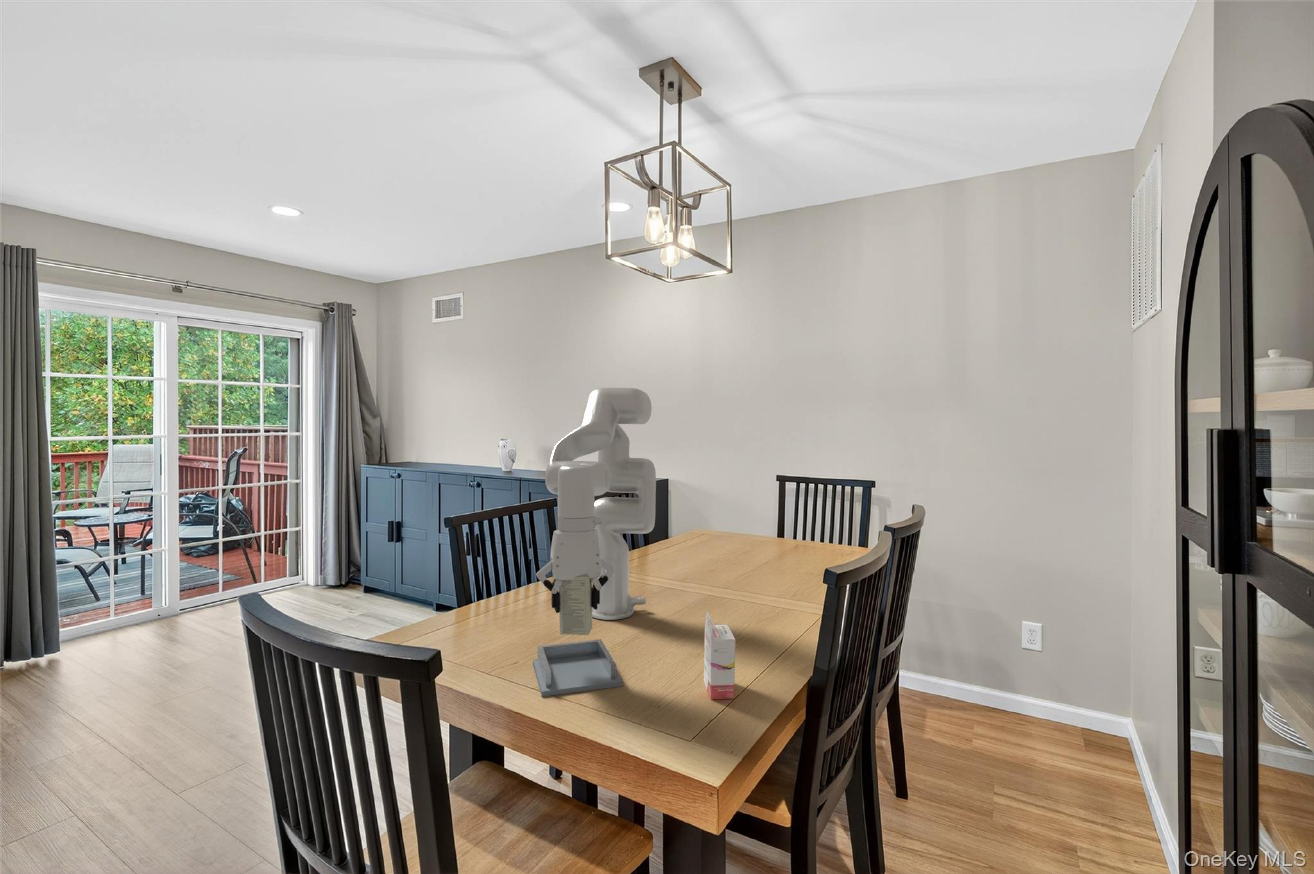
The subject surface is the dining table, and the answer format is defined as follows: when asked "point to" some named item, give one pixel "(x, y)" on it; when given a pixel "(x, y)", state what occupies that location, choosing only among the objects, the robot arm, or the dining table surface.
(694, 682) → the dining table surface
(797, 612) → the dining table surface
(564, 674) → the tray
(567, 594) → the skincare box
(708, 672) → the ink cartridge box
